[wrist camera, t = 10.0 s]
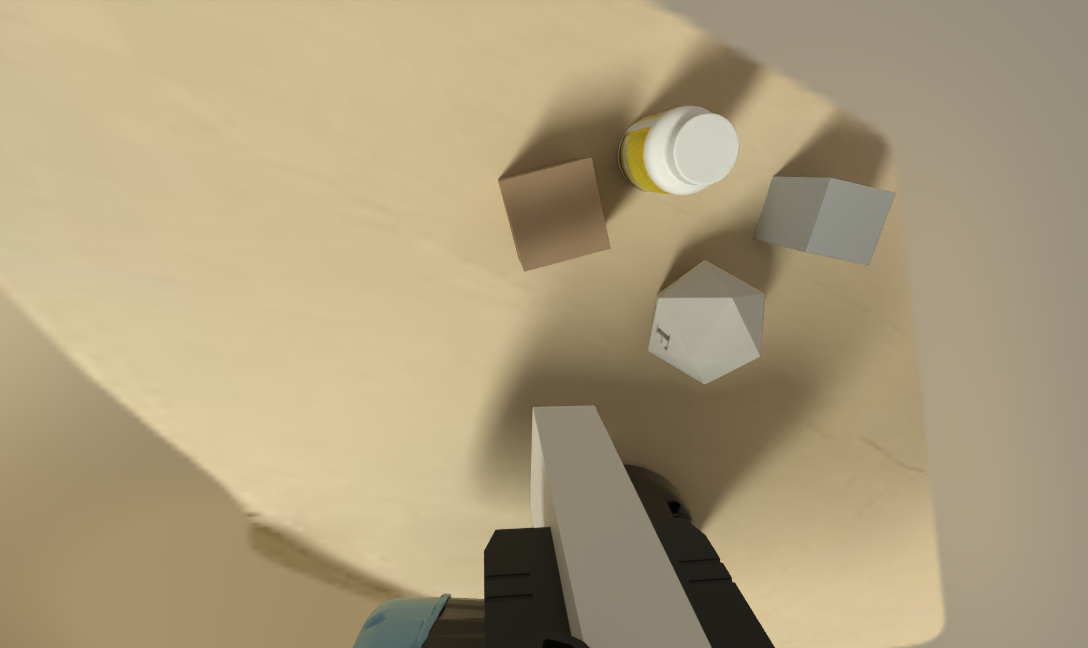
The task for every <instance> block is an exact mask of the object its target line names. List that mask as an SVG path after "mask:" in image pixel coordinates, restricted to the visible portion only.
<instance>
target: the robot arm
mask: <svg viewBox="0 0 1088 648" xmlns="http://www.w3.org/2000/svg"><path fill="white" fill-rule="evenodd" d="M530 507H531V513H532V520H533V528H519V529H501V530H495V532H494V534H493V536H492V537H491V539H490V541H489V543H488V545H487V547H486V549H485V550H484V599H469V598H451V594H443V595H442V596H441V597H424V598H397V599H392V600H389V601H386V602H384V603H383V604H381V605H380V606H379V607H377V608H376V609H375V610H374V611H373V613H371V615H370V616H369V617H368V619H367V620H366V622H365V623H364V625H363V627H362V629H361V631H360V633H359V635H358V637H357V639H356V641H355V644H354V646H353V648H775V647H774V645H773V644H772V642H771V640H770V639H769V637H768V636H767V634H766V632H765V631H764V629H763V627H762V626H761V624H760V623H759V621H758V619H757V618H756V616H755V614H754V613H753V611H752V610H751V608H750V606H749V605H748V603H747V602H746V600H745V598H744V597H743V595H742V593H741V592H740V590H739V589H738V587H737V585H736V584H735V582H734V583H733V582H732V577H731V576H730V574H729V572H728V571H727V569H726V567H725V566H724V564H723V563H721V562H720V558H719V556H718V554H717V553H716V551H715V550H714V548H713V546H712V545H711V543H710V541H709V540H708V538H707V537H706V535H704V534H703V533H702V532H701V531H700V530H698V529H697V528H696V527H695V526H694V522H693V519H692V516H691V514H690V512H689V510H688V508H687V506H686V505H685V503H684V502H683V500H682V498H681V497H680V495H679V493H678V492H677V491H676V489H675V488H674V487H673V486H672V485H671V484H670V483H669V482H668V481H667V480H665V479H664V478H662V477H661V476H659V475H657V474H656V473H654V472H651V471H649V470H646V469H643V468H639V467H634V466H625V465H623V463H622V461H621V459H620V457H619V455H618V453H617V451H616V449H615V447H614V445H613V443H612V441H611V438H610V436H609V434H608V432H607V430H606V428H605V426H604V424H603V422H602V420H601V418H600V416H599V414H598V412H597V409H596V407H595V405H587V406H549V407H533V414H532V455H531V496H530Z"/></svg>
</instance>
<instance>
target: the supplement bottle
mask: <svg viewBox="0 0 1088 648" xmlns="http://www.w3.org/2000/svg"><path fill="white" fill-rule="evenodd" d="M738 153H739V139H738V135H737V132H736V130H735V128H734V126H733V125H732V124H731V122H730V121H729V120H727V119H726V118H725V117H723V116H721V115H718V114H715V113H711V112H710V111H708V110H707V109H705V108H702V107H698V106H681V107H677V108H674V109H670V110H667V111H664V112H661V113H657V114H654V115H651V116H648V117H645V118H642V119H640V120H638V121H637V122H635V123H634V124H633V125H631V126H630V127H629V128H628V129H627V131H626V132H625V134H624V135H623V137H622V139H621V142H620V145H619V149H618V163H619V167H620V170H621V172H622V174H623V176H624V177H625V179H626V180H627V181H628V182H629V183H630V184H631V185H633V186H634V187H636V188H638V189H640V190H643V191H648V192H656V193H665V194H673V195H689V194H694V193H697V192H699V191H701V190H703V189H705V188H706V187H708V186H709V185H710V184H713V183H716V182H718V181H720V180H721V179H723V178H724V177H725V176H726V175H727V174H728V173H729V172H730V171H731V169H732V168H733V166H734V165H735V162H736V160H737V157H738Z"/></svg>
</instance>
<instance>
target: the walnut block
mask: <svg viewBox="0 0 1088 648" xmlns="http://www.w3.org/2000/svg"><path fill="white" fill-rule="evenodd" d="M498 182H499V186H500V189H501V193H502V197H503V201H504V204H505V208H506V212H507V216H508V220H509V223H510V227H511V231H512V235H513V238H514V242H515V246H516V250H517V254H518V257H519V260H520V262H521V264H522V267H523V269H524V272H525V271H528V270H532V269H536V268H539V267H543V266H547V265H551V264H554V263H558V262H562V261H566V260H569V259H573V258H577V257H580V256H584V255H588V254H592V253H595V252H599V251H603V250H606V249H610V244H609V239H608V234H607V229H606V224H605V219H604V214H603V210H602V205H601V200H600V195H599V190H598V185H597V180H596V176H595V171H594V166H593V161H592V157H590V158H582V159H575V160H571V161H567V162H563V163H559V164H556V165H552V166H548V167H544V168H540V169H536V170H533V171H529V172H525V173H521V174H517V175H513V176H510V177H506V178H502V179H498Z"/></svg>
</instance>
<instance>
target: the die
mask: <svg viewBox="0 0 1088 648" xmlns="http://www.w3.org/2000/svg"><path fill="white" fill-rule="evenodd" d="M764 303H765V293H764V292H762V291H760V290H758V289H756V288H755V287H753V286H751V285H749V284H748V283H746V282H744V281H742V280H740V279H739V278H737V277H735V276H733V275H731V274H730V273H728V272H726V271H724V270H722V269H721V268H719V267H717V266H715V265H713V264H712V263H710V262H708V261H706V260H704V261H702V262H701V263H699V264H698V265H697V266H695V267H694V268H693V269H691V270H690V271H688V272H687V273H686V274H684V275H683V276H682V277H680V278H679V279H677V280H676V281H675V282H673V283H672V284H671V285H669V286H668V287H666V288H665V289H664V290H662V291H661V292H660V293H658V294H657V299H656V305H655V311H654V317H653V323H652V329H651V335H650V341H649V347H648V351H649V352H650V353H652V354H654V355H656V356H657V357H659V358H661V359H662V360H664V361H666V362H667V363H669V364H671V365H672V366H674V367H676V368H678V369H679V370H681V371H683V372H684V373H686V374H688V375H689V376H691V377H693V378H694V379H696V380H698V381H700V382H701V383H703V384H707V383H709V382H711V381H713V380H715V379H717V378H719V377H721V376H723V375H725V374H727V373H729V372H731V371H733V370H735V369H737V368H739V367H741V366H743V365H745V364H747V363H749V362H750V361H752V360H754V359H756V358H758V357H760V354H761V341H762V328H763V316H764Z"/></svg>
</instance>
